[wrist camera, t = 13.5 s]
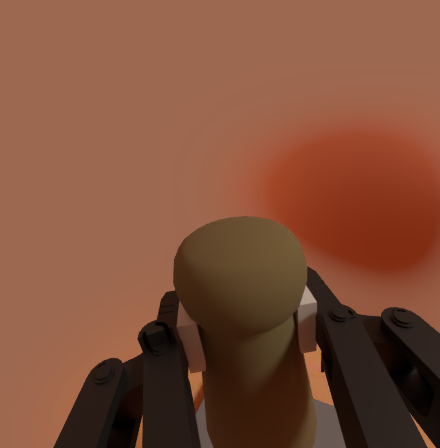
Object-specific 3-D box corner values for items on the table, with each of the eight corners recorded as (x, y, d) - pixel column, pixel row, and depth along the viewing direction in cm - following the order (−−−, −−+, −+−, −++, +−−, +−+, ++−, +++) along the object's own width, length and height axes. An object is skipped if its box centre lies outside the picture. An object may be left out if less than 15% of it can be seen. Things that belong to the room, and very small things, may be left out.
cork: (186, 400, 14) (130, 236, 10) (259, 341, 17) (242, 194, 13) (256, 525, 9) (209, 317, 5) (341, 414, 12) (358, 221, 8)
